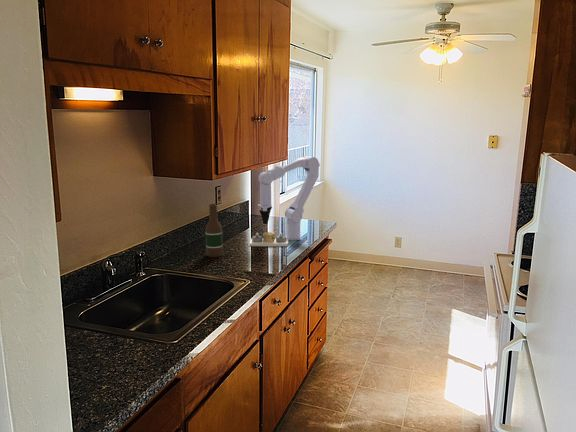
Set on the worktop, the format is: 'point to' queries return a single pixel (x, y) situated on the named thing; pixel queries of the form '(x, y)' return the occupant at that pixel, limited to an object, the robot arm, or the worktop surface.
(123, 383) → the worktop surface
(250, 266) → the worktop surface
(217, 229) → the beer bottle
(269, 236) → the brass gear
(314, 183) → the robot arm
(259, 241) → the gear board
